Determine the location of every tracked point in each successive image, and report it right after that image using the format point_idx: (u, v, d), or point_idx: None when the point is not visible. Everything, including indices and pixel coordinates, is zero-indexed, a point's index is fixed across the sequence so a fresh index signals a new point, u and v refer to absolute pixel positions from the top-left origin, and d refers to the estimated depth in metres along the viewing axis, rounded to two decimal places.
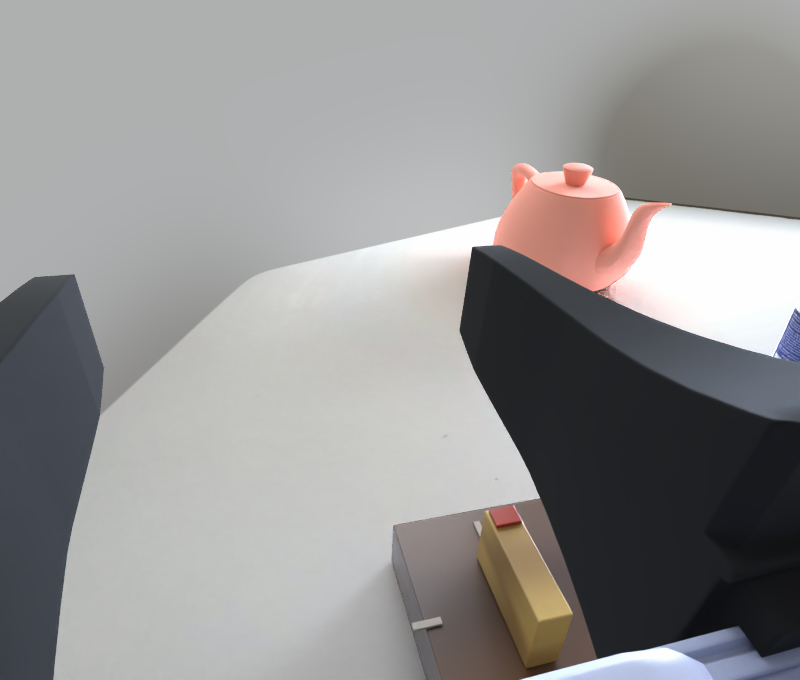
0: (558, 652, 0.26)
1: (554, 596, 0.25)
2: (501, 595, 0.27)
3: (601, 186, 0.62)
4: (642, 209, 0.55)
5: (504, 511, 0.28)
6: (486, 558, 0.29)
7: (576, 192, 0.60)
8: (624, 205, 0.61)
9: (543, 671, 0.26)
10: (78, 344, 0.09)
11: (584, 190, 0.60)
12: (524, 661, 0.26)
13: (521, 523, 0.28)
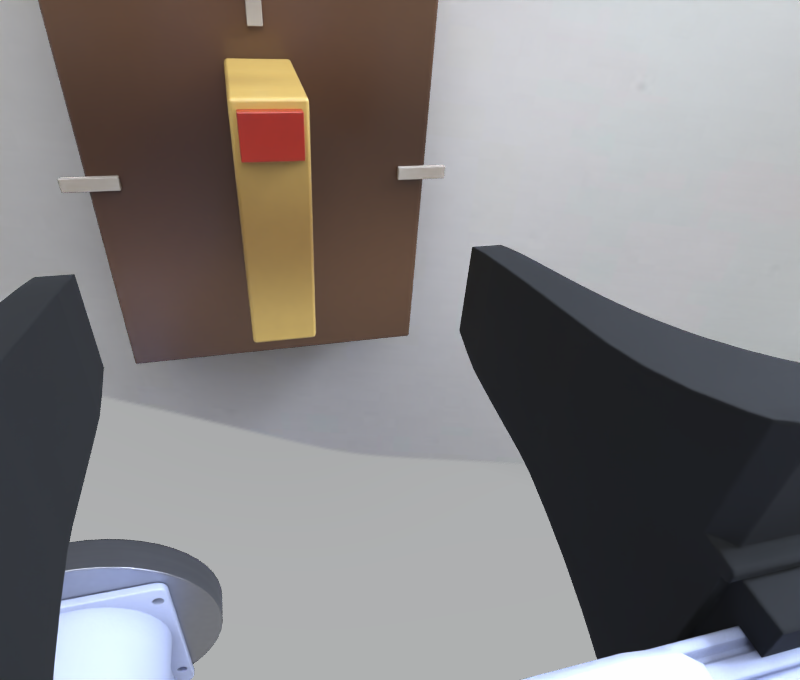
0: None
1: (298, 309, 0.15)
2: None
3: None
4: None
5: (272, 127, 0.12)
6: None
7: None
8: None
9: None
10: (78, 344, 0.09)
11: None
12: None
13: None
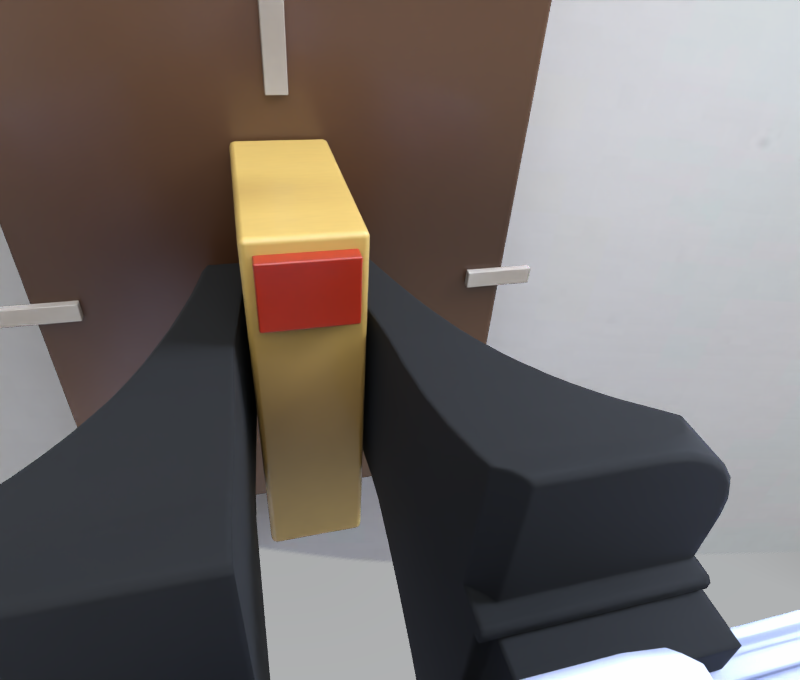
0: None
1: (337, 500, 0.10)
2: None
3: None
4: None
5: (312, 282, 0.07)
6: None
7: None
8: None
9: None
10: None
11: None
12: None
13: None
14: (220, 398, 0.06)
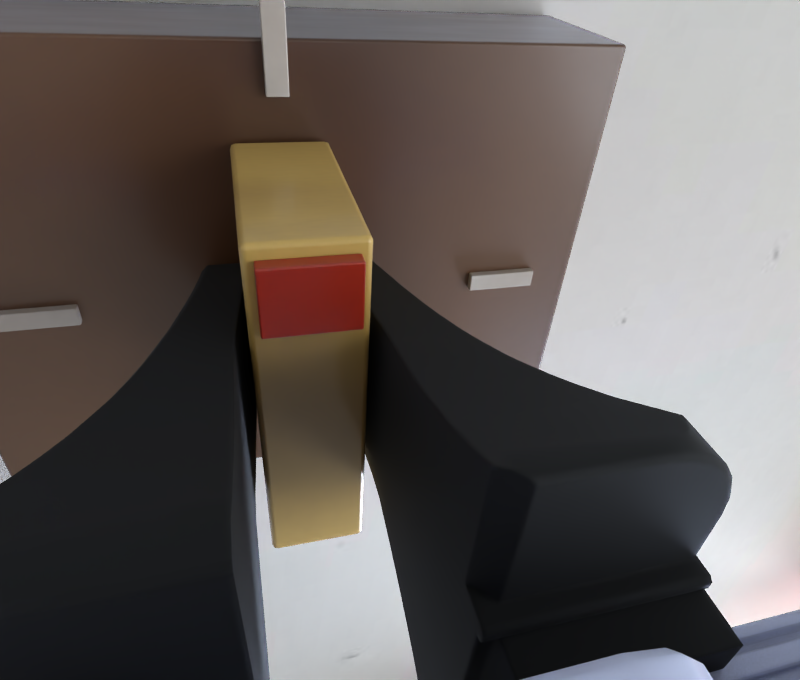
0: None
1: (339, 505, 0.10)
2: None
3: None
4: None
5: (314, 286, 0.07)
6: None
7: None
8: None
9: (106, 307, 0.11)
10: None
11: None
12: None
13: None
14: (219, 398, 0.06)
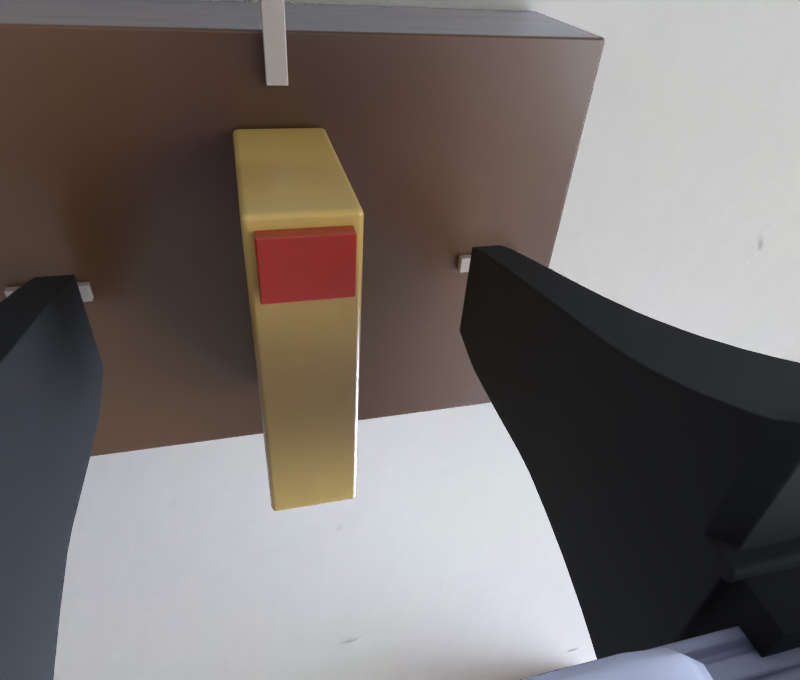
0: None
1: (334, 470, 0.11)
2: None
3: None
4: None
5: (309, 255, 0.08)
6: None
7: None
8: None
9: (116, 285, 0.11)
10: (78, 344, 0.09)
11: None
12: None
13: None
14: None
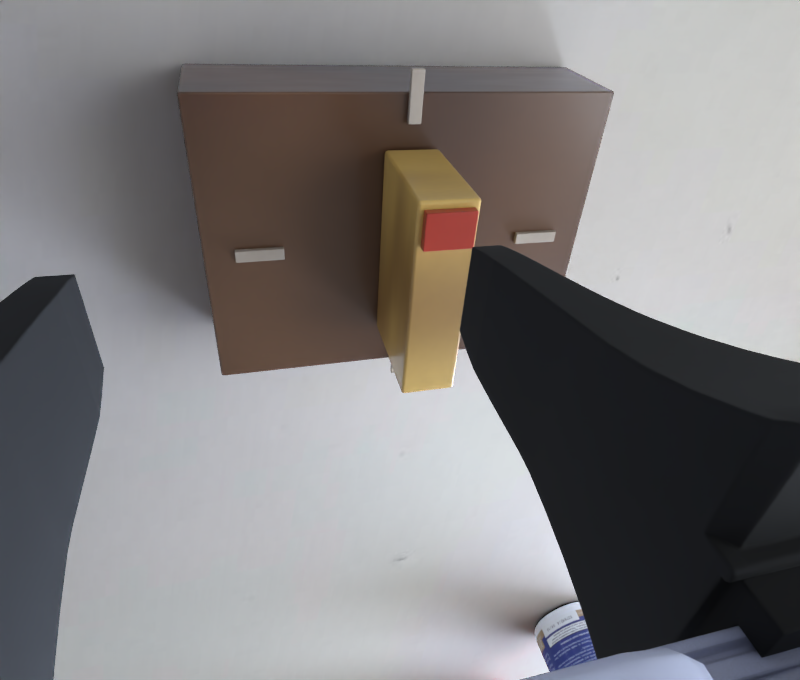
0: None
1: (443, 365, 0.17)
2: (387, 262, 0.17)
3: None
4: None
5: (453, 223, 0.14)
6: (392, 203, 0.16)
7: None
8: None
9: (299, 249, 0.17)
10: (78, 344, 0.09)
11: None
12: (378, 325, 0.19)
13: None
14: None
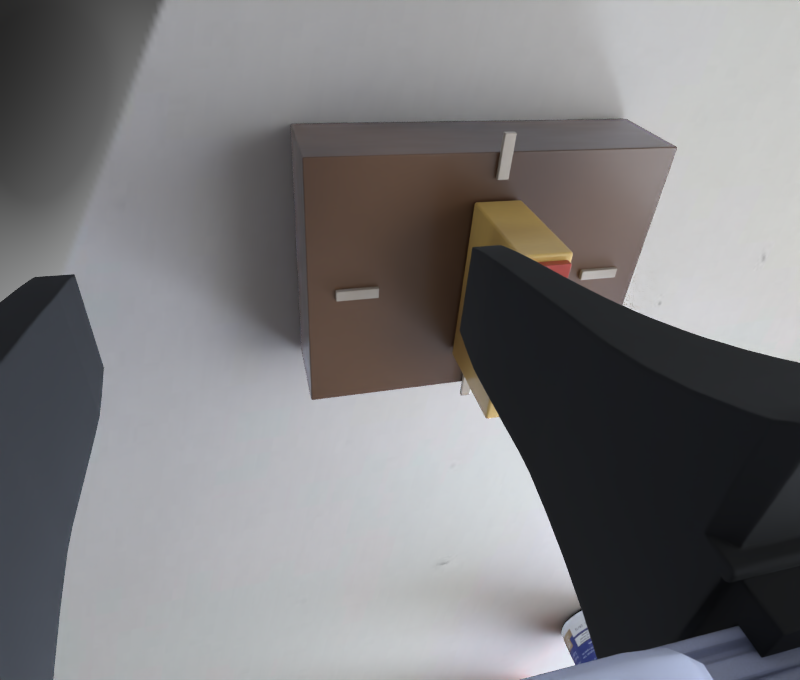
0: None
1: None
2: None
3: None
4: None
5: None
6: None
7: None
8: None
9: (391, 288, 0.19)
10: (78, 344, 0.09)
11: None
12: (454, 353, 0.21)
13: None
14: None
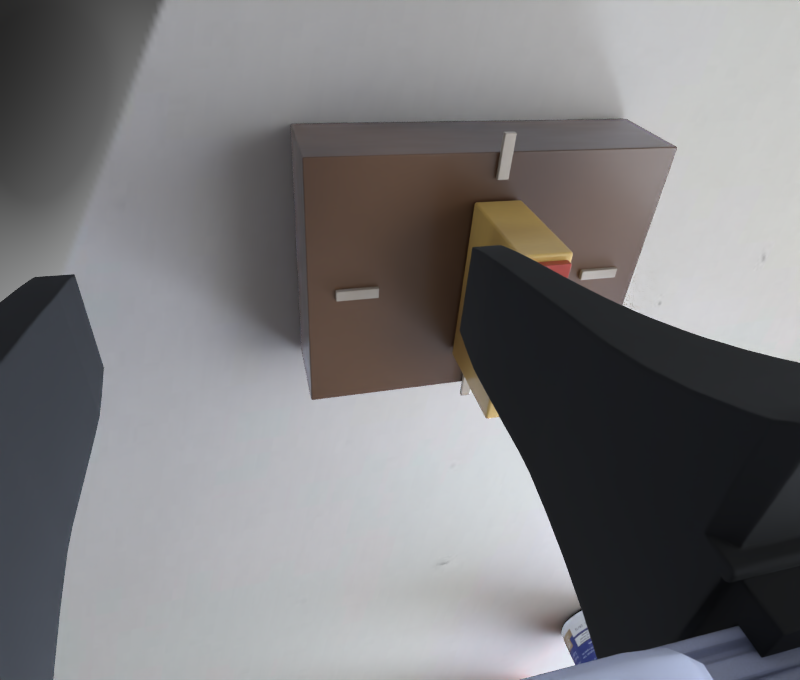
0: None
1: None
2: None
3: None
4: None
5: None
6: None
7: None
8: None
9: (391, 288, 0.19)
10: (78, 344, 0.09)
11: None
12: (454, 353, 0.21)
13: None
14: None
